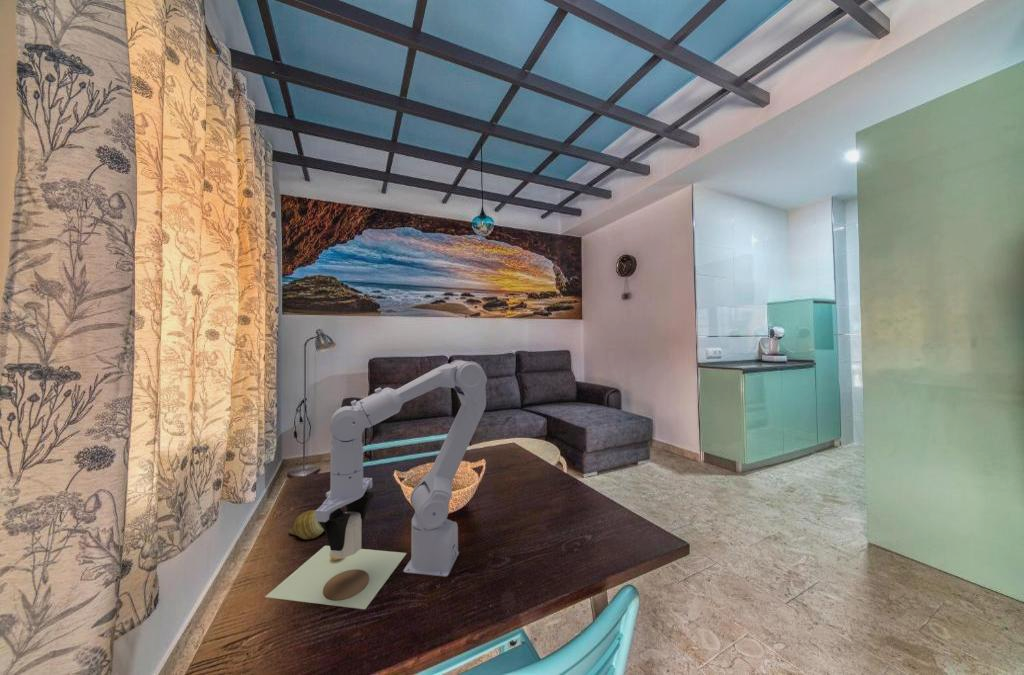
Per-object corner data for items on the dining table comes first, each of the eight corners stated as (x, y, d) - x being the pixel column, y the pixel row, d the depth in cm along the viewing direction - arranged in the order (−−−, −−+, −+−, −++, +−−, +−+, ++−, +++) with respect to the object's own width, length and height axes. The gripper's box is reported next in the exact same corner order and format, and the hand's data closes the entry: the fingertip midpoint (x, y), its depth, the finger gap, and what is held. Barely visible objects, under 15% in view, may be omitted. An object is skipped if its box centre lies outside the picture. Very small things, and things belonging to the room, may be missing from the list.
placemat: (406, 554, 75) (406, 553, 75) (365, 611, 59) (365, 609, 59) (325, 547, 78) (325, 545, 78) (264, 599, 62) (264, 596, 62)
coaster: (377, 572, 69) (377, 571, 69) (352, 602, 61) (352, 601, 61) (341, 569, 70) (341, 567, 70) (312, 598, 62) (312, 596, 62)
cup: (366, 542, 67) (366, 512, 68) (349, 559, 62) (349, 526, 62) (342, 540, 68) (342, 510, 68) (324, 556, 63) (324, 524, 63)
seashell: (293, 552, 83) (274, 539, 78) (303, 522, 89) (286, 508, 84) (332, 544, 83) (315, 530, 78) (339, 514, 89) (325, 500, 84)
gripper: (351, 456, 73) (351, 519, 73) (299, 483, 59) (299, 562, 59) (381, 457, 72) (381, 521, 72) (336, 486, 58) (336, 566, 58)
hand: (346, 540), depth 65 cm, fingers closed on cup, 5 cm apart
